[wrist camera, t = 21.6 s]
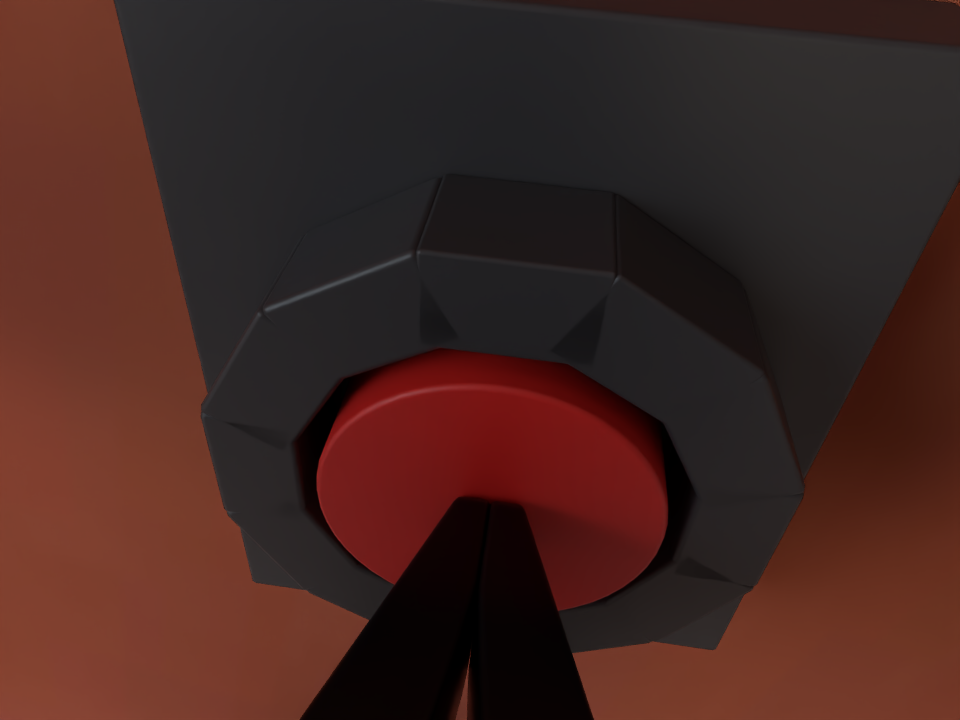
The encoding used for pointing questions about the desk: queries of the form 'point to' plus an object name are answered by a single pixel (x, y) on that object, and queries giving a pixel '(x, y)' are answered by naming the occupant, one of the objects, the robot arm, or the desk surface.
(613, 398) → the button
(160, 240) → the desk surface
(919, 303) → the desk surface
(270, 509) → the button pad
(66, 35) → the desk surface
